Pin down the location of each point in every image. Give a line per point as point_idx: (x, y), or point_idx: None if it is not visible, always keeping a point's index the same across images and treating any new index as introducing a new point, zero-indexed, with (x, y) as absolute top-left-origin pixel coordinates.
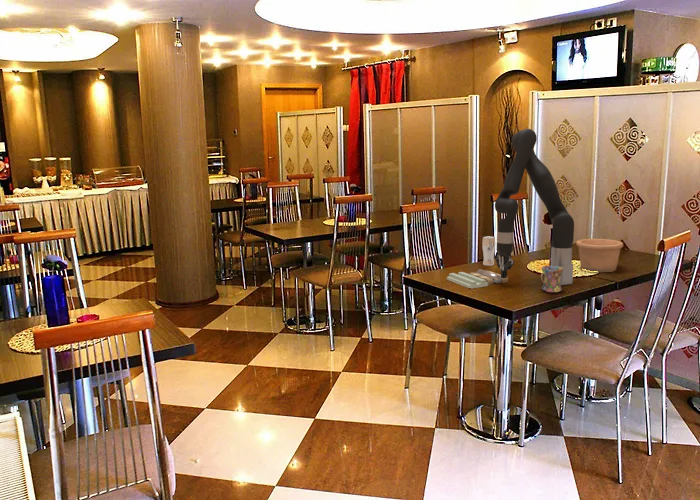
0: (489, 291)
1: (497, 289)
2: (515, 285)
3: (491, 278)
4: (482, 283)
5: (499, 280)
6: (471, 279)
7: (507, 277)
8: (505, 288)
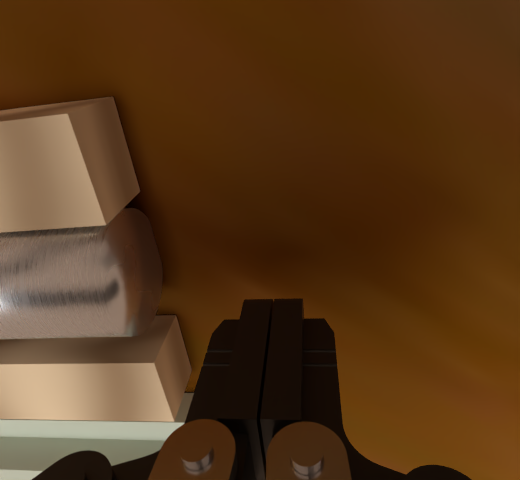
0: None
1: (410, 389)
2: (356, 97)
3: (123, 367)
4: None
5: (139, 256)
6: None
7: (75, 116)
8: (424, 306)
